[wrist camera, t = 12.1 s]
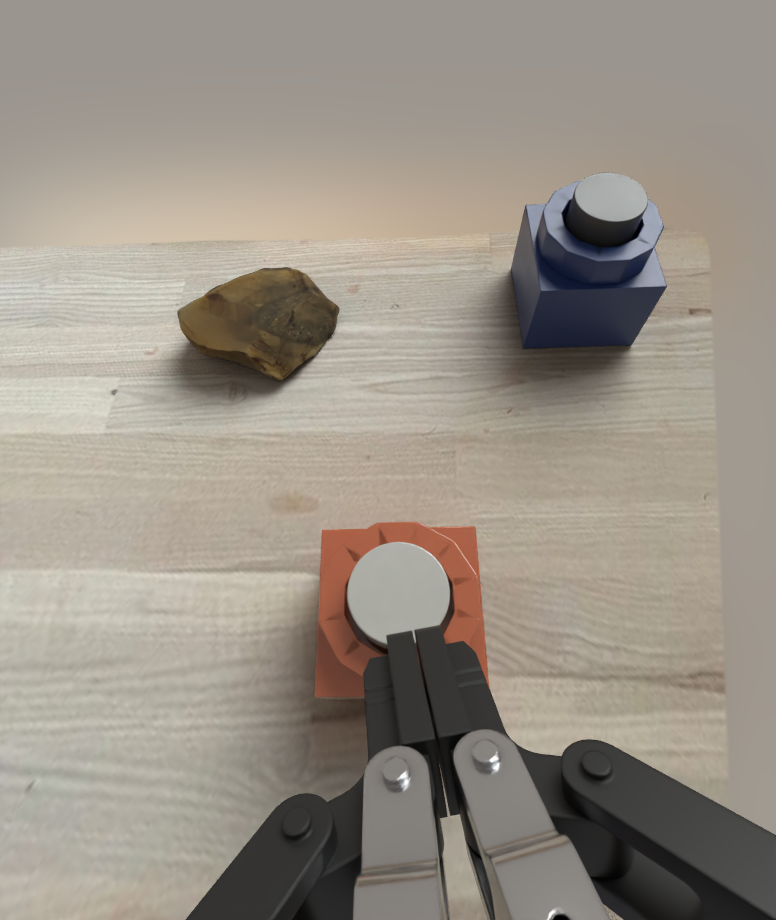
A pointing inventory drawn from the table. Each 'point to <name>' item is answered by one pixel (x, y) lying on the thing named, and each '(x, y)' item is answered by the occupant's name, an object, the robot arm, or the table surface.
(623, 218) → the grey push button
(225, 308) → the decorative stone
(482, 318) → the table surface
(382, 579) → the light grey short cylinder
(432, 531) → the button base
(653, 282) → the near button housing
